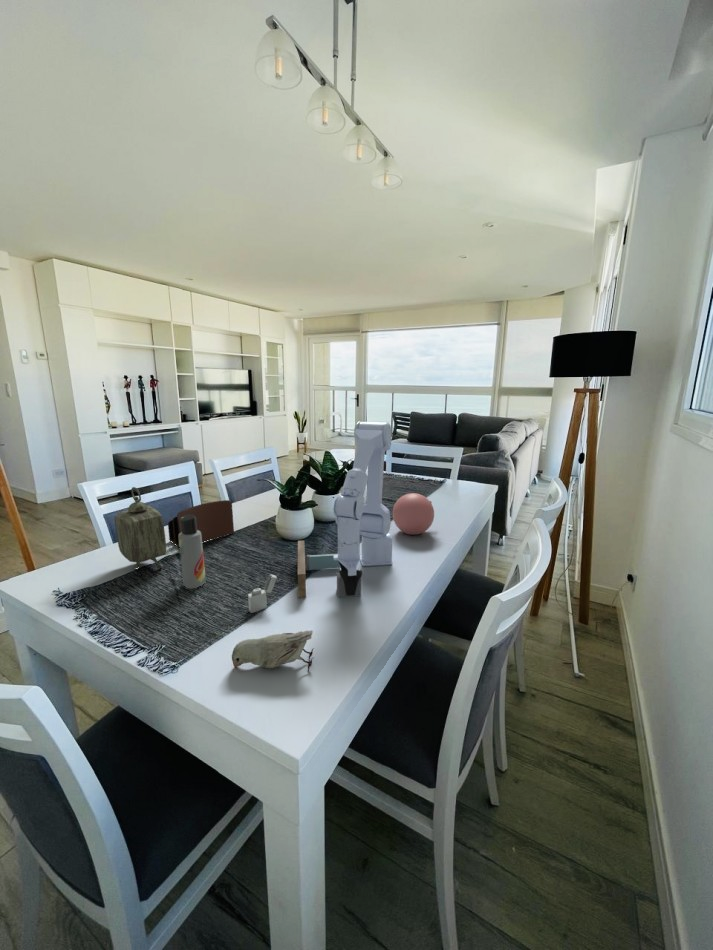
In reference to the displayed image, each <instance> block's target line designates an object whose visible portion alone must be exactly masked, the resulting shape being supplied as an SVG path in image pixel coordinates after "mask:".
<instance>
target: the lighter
mask: <svg viewBox="0 0 713 950" xmlns="http://www.w3.org/2000/svg"><path fill="white" fill-rule="evenodd" d="M276 580H278V577H277V576H276V575H275V574H270V573H269V574H268V577H267V581H266V583H265V585H264V588H263V589H261V588H260V587H257V588H254V589H253V590H252V591H251V593H248V594H247V599H248V600H247V601H248V611H249V612H250V613H251V614H252V613H255V612H256V613H257V612H259V611H261V610H265V609H267V608H268V605H267V604H268V603H267V602H268V601H267V593H270V594H271V593H272V592H273V589H274V586H275V584H276V582H277V581H276Z"/></svg>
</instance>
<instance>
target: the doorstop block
mask: <svg viewBox="0 0 713 950" xmlns="http://www.w3.org/2000/svg"><path fill="white" fill-rule="evenodd" d="M358 570H359V569H356V571H358ZM336 593H337V597H338V598H345V597H348V596H347V595H346V591H345V585H344V581H343V579H342V577H341V575H340V570H337V571H336ZM357 596H362V577H361V578H360V579H359V581H358V584H357V588H356V592H355V595H354V596H353V597H357Z"/></svg>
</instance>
